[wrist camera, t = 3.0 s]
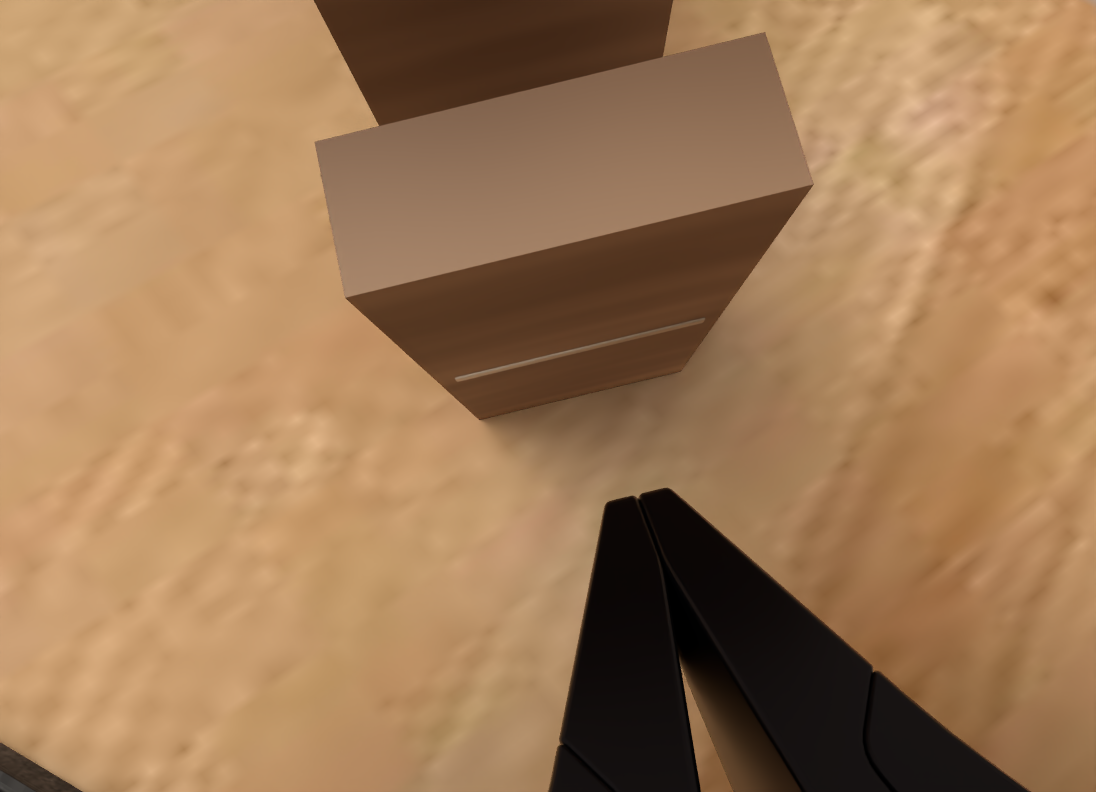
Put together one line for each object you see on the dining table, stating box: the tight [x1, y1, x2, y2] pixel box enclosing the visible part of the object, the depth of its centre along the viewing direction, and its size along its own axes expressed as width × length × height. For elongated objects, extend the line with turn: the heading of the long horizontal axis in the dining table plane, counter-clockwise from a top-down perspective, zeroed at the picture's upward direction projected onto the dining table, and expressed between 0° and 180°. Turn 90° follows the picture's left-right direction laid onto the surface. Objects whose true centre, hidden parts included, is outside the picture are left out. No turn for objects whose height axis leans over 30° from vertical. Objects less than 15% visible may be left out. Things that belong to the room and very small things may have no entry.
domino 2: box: [315, 32, 814, 420], centre depth 12 cm, size 2×5×10 cm, turn 103°
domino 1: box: [314, 0, 673, 126], centre depth 13 cm, size 2×5×10 cm, turn 103°
